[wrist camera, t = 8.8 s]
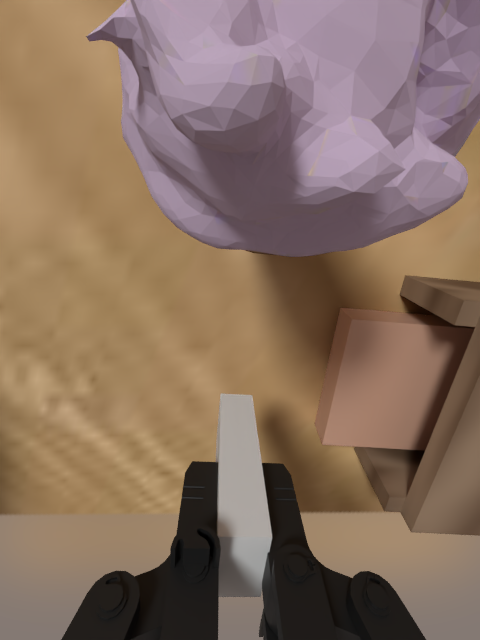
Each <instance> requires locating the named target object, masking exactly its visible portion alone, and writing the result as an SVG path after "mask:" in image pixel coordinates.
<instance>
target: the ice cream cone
mask: <svg viewBox="0 0 480 640" xmlns="http://www.w3.org/2000/svg"><path fill="white" fill-rule="evenodd" d="M86 37H87V38H88V40H89V41H96V40H106V41H111V42H113V43H114V44H115V45H117V46H118V47H119V49H118V52H119V60H120V69H121V77H122V92H123V108H122V120H121V124H122V132H123V138H124V140H125V142H126V143H127V145H128V147H129V149H130V150H131V152H132V154H133V156H134V158H135V160H136V162H137V164H138V166H139V168H140V170H141V172H142V174H143V176H144V179H145V181H146V184H147V186H148V188H149V191H150V193H151V196H152V197H153V199H154V200H155V202H156V203H157V205H158V206H159V208H160V209H161V211H162V212H163V214H164V215H165V216H166V217H167V218H168V219H169V220H170V221H171V222H172V223H173V224H174V225H175V226H176V227H177V228H179V229H180V230H182V231H184V232H185V233H187V234H188V235H190V236H192V237H193V238H195V239H197V240H199V241H200V242H202V243H205V244H208V245H210V246H213V247H216V248H221V249H241V250H246V251H249V252H252V253H260V254H271V255H281V256H288V257H302V256H313V255H318V254H324V253H329V252H334V251H347V250H352V249H357V248H362V247H365V246H368V245H370V244H373V243H375V242H378V241H380V240H383V239H385V238H387V237H390V236H392V235H395V234H398V233H401V232H404V231H407V230H410V229H413V228H415V227H417V226H419V225H420V224H422V223H424V222H426V221H427V220H429V219H431V218H433V217H434V216H436V215H438V214H440V213H441V212H443V211H445V210H447V209H448V208H450V207H451V206H452V205H454V204H455V203H456V202H457V201H459V200H460V199H461V198H462V197H463V194H464V191H465V189H466V186H467V184H468V175H467V172H466V169H465V167H464V166H463V165H462V164H461V163H460V162H459V161H458V160H457V159H456V158H455V156H456V154H457V153H458V152H459V150H460V149H461V147H462V146H463V145H464V143H465V141H466V140H467V138H468V136H469V135H470V133H471V131H472V130H473V128H474V127H475V125H476V124H477V122H478V121H479V119H480V0H126V2H125V3H124V4H123V5H122V6H121V7H120V8H118V9H117V10H116V11H115V12H114V13H113V14H112V15H111V16H110V17H109V18H108V19H107V20H106V21H105V22H104V23H102V24H101V25H100V26H99V27H97V28H96V29H95V30H94V31H92V32H91V33H90V34H89V35H88V36H86Z"/></svg>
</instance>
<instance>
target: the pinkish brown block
mask: <svg viewBox="0 0 480 640" xmlns="http://www.w3.org/2000/svg"><path fill="white" fill-rule="evenodd" d="M474 329H475V327H469V326H458V325H453V324H452V323H450V322H448V321H446V320H444V319H443V318H441V317H439V316H437V315H425V314H412V313H400V312H388V311H376V310H363V309H351V308H340V311H339V315H338V320H337V324H336V329H335V334H334V338H333V343H332V347H331V352H330V356H329V361H328V365H327V370H326V374H325V379H324V384H323V388H322V393H321V397H320V402H319V406H318V411H317V415H316V420H315V426H316V429H317V432H318V435H319V437H320V440H321V443H322V445H338V446H355V447H372V448H389V449H407V450H424V451H425V450H426V448H427V445H428V443H429V440H430V438H431V435H432V433H433V430H434V428H435V425H436V423H437V420H438V418H439V416H440V413H441V411H442V408H443V406H444V403H445V401H446V398H447V396H448V393H449V391H450V388H451V386H452V383H453V381H454V378H455V376H456V374H457V371H458V369H459V366H460V364H461V361H462V359H463V356H464V354H465V351H466V349H467V346H468V344H469V341H470V339H471V336H472V334H473V332H474Z"/></svg>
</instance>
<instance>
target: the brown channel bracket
mask: <svg viewBox="0 0 480 640" xmlns="http://www.w3.org/2000/svg"><path fill="white" fill-rule="evenodd" d="M400 295H401V296H403V297H405V298H407V299H409V300H410V301H412V302H414V303H416V304H418V305H419V306H421V307H423V308H425V309H426V310H428V311H430V312H432V313H434V314H435V315H437V316H439V317H441V318H443V319H444V320H446V321H448V322H450V323H452V324H453V325H458V326H469V327H475V329H474V332H473V334H472V336H471V339H470V341H469V344H468V346H467V349H466V351H465V354H464V356H463V359H462V361H461V364H460V366H459V369H458V371H457V374H456V376H455V378H454V381H453V383H452V386H451V388H450V391H449V393H448V396H447V398H446V401H445V403H444V406H443V408H442V411H441V413H440V416H439V418H438V420H437V423H436V425H435V428H434V430H433V433H432V435H431V438H430V440H429V443H428V445H427V448H426V450H425V451H424V450H407V449H389V448H372V447H355V448H354V450H355V452H356V454H357V456H358V458H359V460H360V462H361V464H362V466H363V468H364V470H365V472H366V474H367V476H368V478H369V481H370V483H371V485H372V487H373V489H374V491H375V493H376V495H377V497H378V499H379V501H380V503H381V505H382V507H383V509H384V511H389V512H401V514H402V516H403V518H404V520H405V522H406V523H407V525H408V527H409V529H410V531H411V532H419V533H440V534H460V535H480V282H470V281H459V280H448V279H438V278H427V277H417V276H406V275H405V279H404V282H403V286H402V289H401V292H400Z"/></svg>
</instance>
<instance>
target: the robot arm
mask: <svg viewBox="0 0 480 640" xmlns="http://www.w3.org/2000/svg"><path fill="white" fill-rule="evenodd" d="M261 591H262V592H263V601H264V609H263V614H262V619H261V623H260V630H259V637H263V636H264V640H426V639H425V637H424V636H423V634H422V633H421V631H420V629H419V628H418V626H417V624H416V623H415V621H414V620H413V618H412V617H411V615H410V613H409V612H408V610H407V609H406V607H405V605H404V604H403V602H402V601H401V599H400V598H399V596H398V594H397V593H396V591H395V590H394V589H393V588H392V586H391V585H390V584H389V583H388V582H387V581H386V580H385V579H383V578H382V577H380V576H379V575H377V574H375V573H372V572H369V571H365V572H359V573H358V574H356V575H355V576H354V577H353V578H350V577H348V576H345V575H343V574H340V573H337V572H335V571H332V570H330V569H328V568H326V567H325V566H324V565H322V564H321V563H320V562H319V561H318V560H317V559H316V558H315V557H314V556H313V554H312V552H311V551H310V549H309V546H308V543H307V540H306V536H305V532H304V528H303V524H302V520H301V515H300V511H299V507H298V503H297V501H296V495H295V491H294V486H293V482H292V478H291V475H290V473H289V472H288V470H287V469H286V468H285V466H284V465H283V464H275V463H262V461H261V454H260V447H259V440H258V433H257V426H256V419H255V412H254V405H253V398H252V395H237V394H221V395H220V406H219V418H218V429H217V443H216V462H194V461H192V463H191V464H190V466H189V468H188V469H187V471H186V472H185V479H184V486H183V493H182V500H181V507H180V514H179V521H178V528H177V535H176V536H175V538H174V540H173V543H172V546H171V554H170V556H169V557H168V558H167V559H166V561H165V562H164V563H162V564H161V565H160V566H159V567H157V568H155V569H153V570H151V571H148V572H146V573H143V574H140V575H137V576H135V577H134V576H133V575H131V574H130V573H128V572H126V571H114V572H111V573H109V574H106V575H104V576H103V577H102V578H100V579H99V580H98V581H97V582H95V584H94V585H93V586H92V588H91V589H90V590H89V592H88V593H87V595H86V597H85V599H84V600H83V602H82V604H81V606H80V607H79V609H78V611H77V613H76V615H75V616H74V618H73V620H72V622H71V624H70V625H69V627H68V629H67V631H66V633H65V634H64V636H63V638H62V640H218V597H260V596H261Z"/></svg>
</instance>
